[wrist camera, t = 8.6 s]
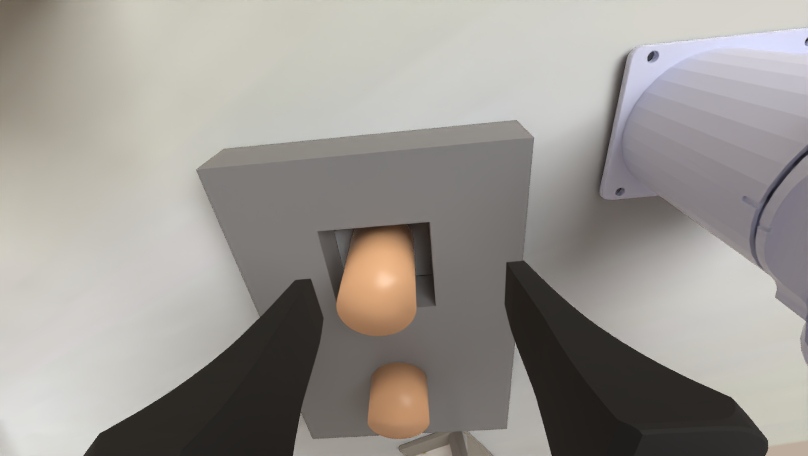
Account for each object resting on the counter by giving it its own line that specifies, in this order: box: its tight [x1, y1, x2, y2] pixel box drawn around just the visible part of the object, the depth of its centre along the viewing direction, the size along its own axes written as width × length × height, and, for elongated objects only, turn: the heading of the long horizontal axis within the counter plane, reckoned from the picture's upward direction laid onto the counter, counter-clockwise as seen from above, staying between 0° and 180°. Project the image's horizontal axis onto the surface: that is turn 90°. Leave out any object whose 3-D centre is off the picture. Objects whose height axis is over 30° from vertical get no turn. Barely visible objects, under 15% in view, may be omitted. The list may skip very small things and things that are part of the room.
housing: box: [196, 120, 534, 439], centre depth 23 cm, size 16×24×6 cm, turn 6°
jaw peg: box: [336, 224, 416, 336], centre depth 20 cm, size 4×4×6 cm
